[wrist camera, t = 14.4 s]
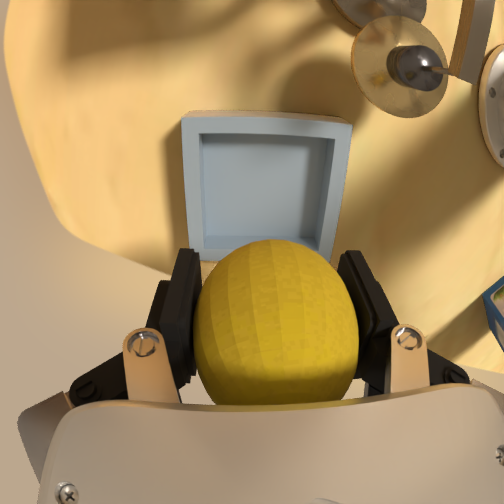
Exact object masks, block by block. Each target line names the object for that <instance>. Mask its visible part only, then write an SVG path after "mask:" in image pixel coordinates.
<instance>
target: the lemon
mask: <svg viewBox="0 0 504 504" xmlns="http://www.w3.org/2000/svg"><path fill="white" fill-rule="evenodd" d="M358 347H359V337H358V323H357V317H356V312H355V309H354V306H353V303H352V301H351V298H350V296H349V293H348V291H347V289H346V287H345V284H344V282H343V281H342V279H341V277H340V276H339V274H338V273H337V272H336V271H335V270H334V268H333V267H332V266H331V265H330V264H329V263H328V262H327V261H326V260H325V259H324V258H323V257H322V256H321V255H319V254H318V253H316V252H315V251H313V250H311V249H309V248H308V247H306V246H304V245H301V244H298V243H294V242H291V241H287V240H278V239H266V240H260V241H255V242H251V243H249V244H246V245H244V246H242V247H239V248H237V249H235V250H234V251H233V252H231V253H230V254H228V255H227V256H226V257H224V258H223V259H222V260H221V261H220V262H219V263H218V264H217V265H216V267H215V268H214V269H213V270H212V272H211V273H210V274H209V276H208V277H207V279H206V280H205V283H204V285H203V287H202V290H201V292H200V295H199V298H198V300H197V304H196V307H195V311H194V318H193V348H194V357H195V362H196V366H197V370H198V374H199V376H200V379H201V381H202V383H203V385H204V387H205V389H206V391H207V393H208V395H209V396H210V398H211V399H212V401H213V402H214V403H215V404H216V405H285V404H302V403H316V402H327V401H337V400H341V399H342V398H343V397H344V395H345V393H346V392H347V390H348V388H349V386H350V384H351V382H352V380H353V378H354V375H355V372H356V368H357V363H358Z"/></svg>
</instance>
